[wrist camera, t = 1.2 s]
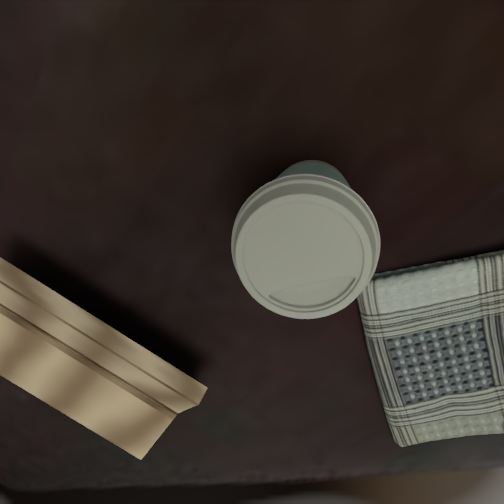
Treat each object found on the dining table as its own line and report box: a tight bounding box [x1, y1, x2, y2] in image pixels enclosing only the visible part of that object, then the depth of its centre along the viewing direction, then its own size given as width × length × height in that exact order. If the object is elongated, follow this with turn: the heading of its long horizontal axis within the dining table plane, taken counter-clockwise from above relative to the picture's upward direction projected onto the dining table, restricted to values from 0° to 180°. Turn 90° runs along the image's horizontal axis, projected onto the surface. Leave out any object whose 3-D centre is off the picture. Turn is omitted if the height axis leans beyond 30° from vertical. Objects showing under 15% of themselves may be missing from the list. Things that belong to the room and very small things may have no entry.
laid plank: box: [0, 303, 177, 460], centre depth 47 cm, size 20×8×2 cm, turn 57°
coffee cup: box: [231, 160, 380, 319], centre depth 32 cm, size 9×9×12 cm
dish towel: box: [356, 250, 504, 447], centre depth 39 cm, size 19×18×3 cm
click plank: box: [0, 257, 207, 413], centre depth 42 cm, size 20×8×2 cm
